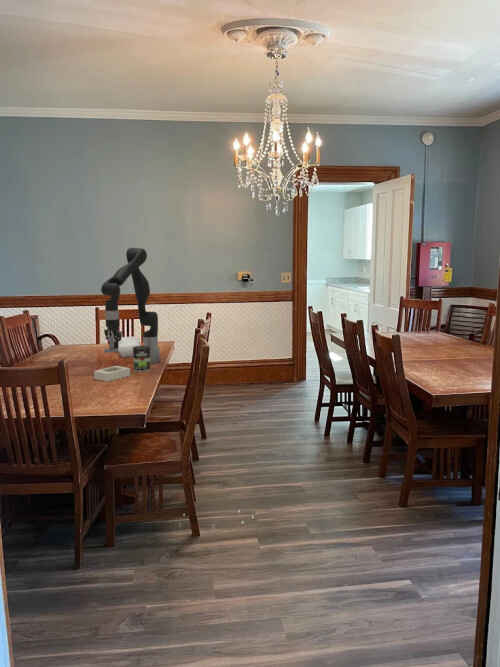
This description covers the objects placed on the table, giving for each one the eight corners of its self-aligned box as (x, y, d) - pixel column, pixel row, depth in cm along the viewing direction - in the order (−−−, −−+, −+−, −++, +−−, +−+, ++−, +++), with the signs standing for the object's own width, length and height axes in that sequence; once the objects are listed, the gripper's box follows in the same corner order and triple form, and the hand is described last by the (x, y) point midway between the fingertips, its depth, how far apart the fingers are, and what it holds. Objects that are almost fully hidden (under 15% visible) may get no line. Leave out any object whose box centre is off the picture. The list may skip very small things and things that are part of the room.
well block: (117, 373, 305) (116, 365, 304) (130, 375, 297) (129, 368, 297) (94, 378, 292) (93, 370, 292) (107, 381, 285) (106, 373, 284)
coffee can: (151, 371, 308) (150, 348, 306) (134, 372, 306) (132, 349, 303) (150, 367, 318) (149, 345, 316) (133, 368, 315) (132, 346, 313)
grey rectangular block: (113, 350, 296) (112, 334, 295) (118, 350, 294) (117, 335, 292) (104, 351, 291) (103, 336, 290) (108, 352, 289) (107, 337, 287)
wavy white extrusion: (142, 357, 349) (141, 342, 347) (117, 359, 343) (116, 344, 341) (135, 348, 381) (134, 334, 379) (112, 350, 375) (111, 335, 374)
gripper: (125, 318, 289) (127, 348, 292) (109, 316, 298) (111, 345, 301) (114, 320, 284) (116, 350, 286) (99, 318, 292) (100, 347, 295)
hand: (113, 347), depth 294 cm, fingers closed on grey rectangular block, 4 cm apart
